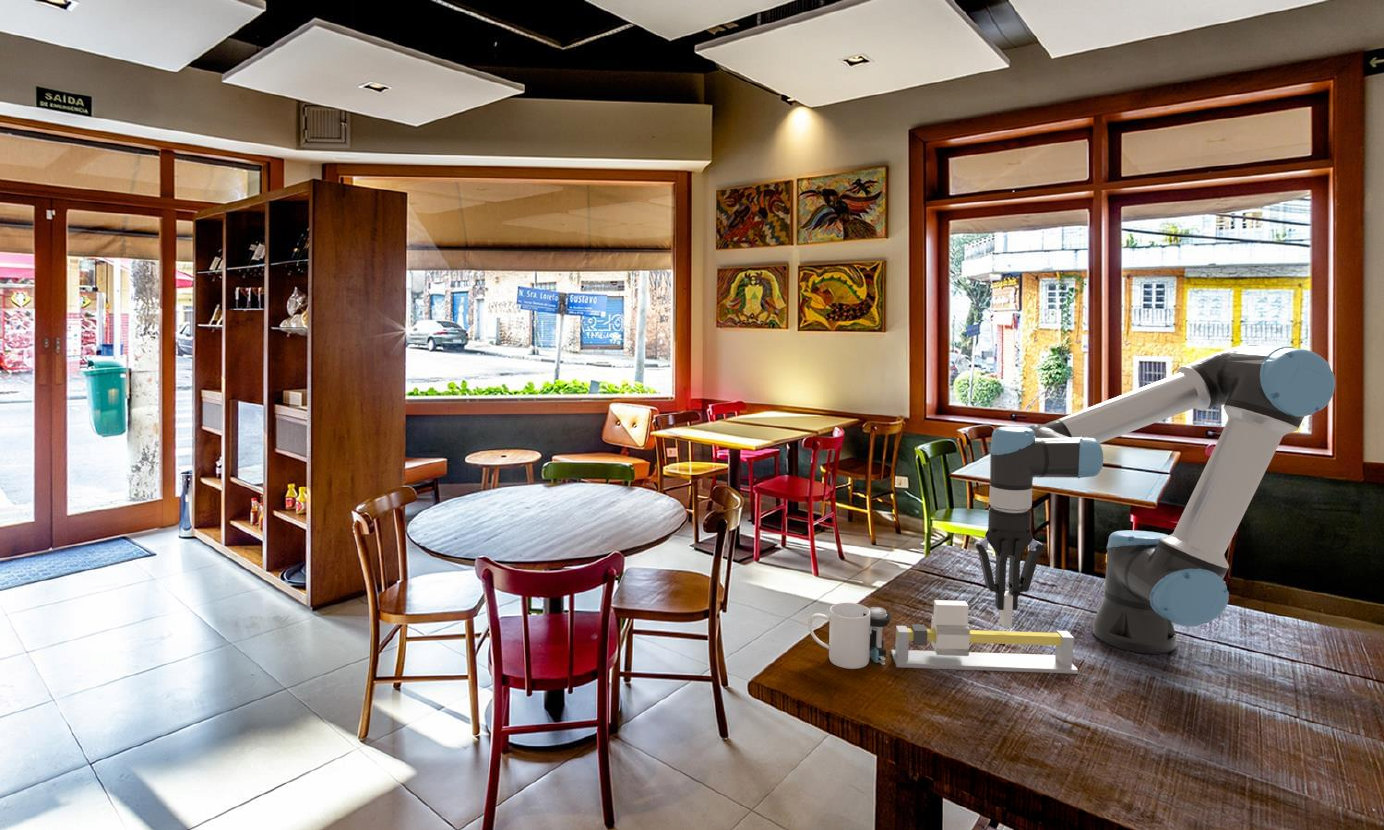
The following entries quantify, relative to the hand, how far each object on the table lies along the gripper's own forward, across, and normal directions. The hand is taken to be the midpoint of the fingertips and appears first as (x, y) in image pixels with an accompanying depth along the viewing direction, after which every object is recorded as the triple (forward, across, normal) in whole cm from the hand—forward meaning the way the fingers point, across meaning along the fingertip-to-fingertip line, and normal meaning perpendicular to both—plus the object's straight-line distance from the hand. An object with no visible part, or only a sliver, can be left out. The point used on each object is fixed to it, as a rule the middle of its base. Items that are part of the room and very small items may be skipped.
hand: (1005, 624), depth 145 cm
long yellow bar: (+4, +5, 0) cm, 6 cm away
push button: (+8, +25, 0) cm, 26 cm away
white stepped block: (+5, +11, 0) cm, 12 cm away
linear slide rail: (+8, +4, 0) cm, 9 cm away
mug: (+8, +32, +1) cm, 33 cm away
